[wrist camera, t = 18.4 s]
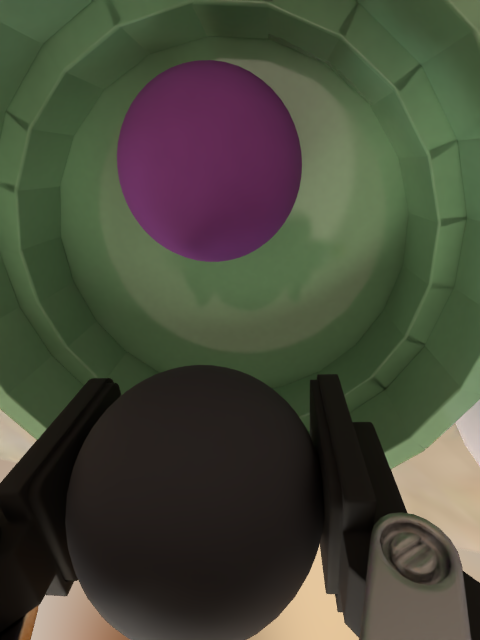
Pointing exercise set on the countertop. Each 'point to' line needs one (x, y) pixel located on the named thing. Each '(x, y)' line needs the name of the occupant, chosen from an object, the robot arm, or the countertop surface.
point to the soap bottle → (471, 430)
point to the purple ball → (209, 160)
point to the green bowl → (292, 238)
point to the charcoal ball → (195, 507)
